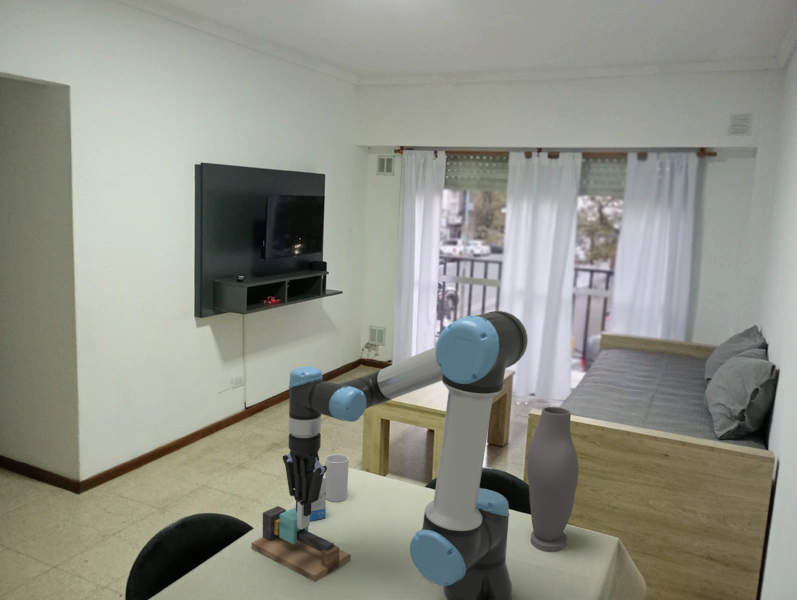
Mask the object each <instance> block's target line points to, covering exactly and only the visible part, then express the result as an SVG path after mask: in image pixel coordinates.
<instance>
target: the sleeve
mask: <svg viewBox="0 0 797 600" xmlns="http://www.w3.org/2000/svg"><path fill="white" fill-rule="evenodd" d="M299 530H301V529H299V528H297V512H296V507H292V508H290V509H288V510H286V512H283V513H281V514H280V536H279V537H280V538H282V539H284V540H286V541H288V542H290V543H292V544H295V543H297V531H299ZM304 530H306V531H308V532H309V526H308V527H306V528H304Z"/></svg>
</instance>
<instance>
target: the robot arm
mask: <svg viewBox="0 0 797 600" xmlns="http://www.w3.org/2000/svg"><path fill="white" fill-rule="evenodd" d="M528 341H529V339H528V333H527V330H526V327H525V325H524V324H523V323H522V322H521V320H520V319H519V318H518V317H517V316H515V315H514V314H512V313H509V312H508V311H503V310H494V311H488V312H486V313H481V314H480V313H479V314H476V315H468V316H464V317H461V318H458V319H457V320H455V321H453V322H451V323H450V324H448V325H446V327H445V328H443V330H442V331H441V333H440V335H439V336H438V339H437V340H436V344H435V347H432V348H430V349H427V350H425V351H422V352H421V353H417V354H415V355H413V356H410V357H407V358H405V359H404V360H401V361H399V362H398V361H397V362H396V363H393V364H391V365H389V366H386V367H384V368H381V369H379V370H376V371H374V372H371V373H369V374H367V375H366V374H365V375H363V376H360V377H357V378H353V379H350V380H346V381H344V382H343V381H342V382H340V383H335V382H331V381H326V380H323V379H324V378H323V372H322V370H321V369H320V368H318V367H314V366H301V367H295V368H294V369H292V370H291V371H290V373H289V381H288V382H289V385H288V391H289V392H288V393H289V394H288V397H289V398H288V399H289V400H288V402H289V403H288V404H289V405H288V407H289V409H288V411H289V412H288V432H289V434H288V449H289V453H287V454H285V455H282V462H283V464H284V466H285V472H286V473H285V474H286V478H287V480H286V481H287V486H288V493H289V496H290V497H294V500H295V508H296V512H297V528H299V529H301V530H302V529H304V528H306V527H308V528H309V527H310V522H311V521H310V515H311V503H313V502H315V501H317V500H318V498H319V494H320V489H321V485H322V480H323V476H325V472H326V470H327V467H326V466H325V465H322V464H321V462H320V456H319V450H320V448H321V442H322V441H321V440H322V439H321V438H322V437H321V436H322V435H321V430H322V427H321V426H322V425H321V423H322V415H324V416H327V417H330V418H333V419H336V420H338V421H341V422H342V421H343V422H344V421H345V422H348V423H349V422H350V423H353V422H356V421H358V420H360V418H361V417H362V416H363V415H364V413H365V411H366V410H367V409H369V408H372V407H376V406H378V405H382V404H384V403H387V402H389V401H392V400H393V399H396V398H398V397H402V396H404V395H407V394H409V393H412V392H415V391H418V390H420V389H423V388H427V387H429V386H432V385H434V384H438V383H441V382H442V383H443V385H444V386H445V388H447V390H448V392H447V401H446V407H445V408H446V409H445V416H444V423H443V431H442V437H441V446H440V453H439V460H438V468H437V473H436V474H437V476H436V481H435V482H436V483H435V488H434V489H435V490H434V497H433V500H432V501H430V502H428V503H427V504H426V506H425V508H424V515H423V522H422V528H421V530H418V531H416V532H415V533H414V536H413V537H412V538H411V541H410V543H409V545H410V546H409V551H410V552H409V553H410V557H411V560H412V562H413V565H414V566H415V567H416V569H417V571H418V572H419V574H420V575H421V576H422V577H423V578H425V579H426V580H427V581H429V582H430V583H431V584H434V585H436V586H441V587H442V586H443V587H442V588H443V592H444V595H445V596H446V599H448V600H512V594H513V583H512V581H511V577H510V573H509V570H508V566H507V561H506V559H507V543H508V534H509V533H508V532H509V530H508V529H509V518H510V517H509V516H510V513H509V512H510V511H509V509H510V507H509V506H510V505H509V501H508V500H507V498H506V497H505V496H504V495H502V494H501V493H499V492H497V491H494V490H490V489H487V488H481V486H480V484H481V480H482V479H481V478H482V472H483V466H484V460H485V458H484V457H485V453H486V448H487V447H486V445H487V440H488V434H489V433H488V432H489V427H490V419H491V412H492V405H493V399H494V397H495V396H497V395H498V394H500V393H501V392H502V391H503V386H504V380H505V373H506V369H508V368H510V367H512V366H513V365H515V364H517V363H518V362H519V361H520V359H522V357H523V356H524V355H525V353H526V350H527V347H528Z"/></svg>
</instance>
